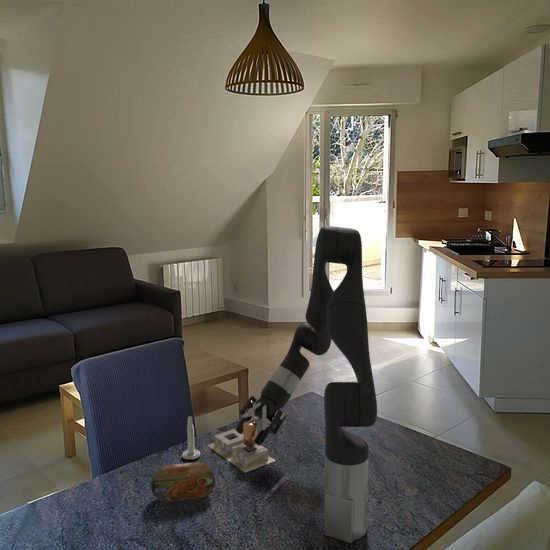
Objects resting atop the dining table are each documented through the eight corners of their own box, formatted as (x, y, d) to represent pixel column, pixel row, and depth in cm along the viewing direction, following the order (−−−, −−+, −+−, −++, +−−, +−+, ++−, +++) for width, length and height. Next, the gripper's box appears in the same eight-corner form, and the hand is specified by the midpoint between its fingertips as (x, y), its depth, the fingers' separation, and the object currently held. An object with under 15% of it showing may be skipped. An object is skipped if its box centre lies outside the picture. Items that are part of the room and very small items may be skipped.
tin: (151, 503, 132) (150, 470, 131) (152, 496, 135) (150, 464, 134) (215, 497, 135) (214, 465, 133) (214, 490, 138) (214, 458, 136)
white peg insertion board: (275, 464, 150) (275, 450, 149) (245, 476, 144) (244, 461, 143) (236, 439, 165) (236, 425, 164) (207, 449, 159) (206, 435, 158)
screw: (198, 455, 155) (202, 463, 151) (180, 458, 153) (184, 466, 149) (196, 411, 153) (201, 418, 149) (179, 413, 151) (183, 420, 147)
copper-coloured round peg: (252, 463, 148) (252, 427, 146) (241, 460, 150) (240, 425, 148) (259, 457, 151) (259, 422, 150) (247, 454, 153) (247, 420, 151)
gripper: (257, 373, 157) (223, 422, 152) (289, 387, 146) (254, 441, 141) (272, 386, 161) (240, 435, 157) (304, 401, 150) (271, 454, 145)
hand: (247, 438), depth 149 cm, fingers open, 8 cm apart
